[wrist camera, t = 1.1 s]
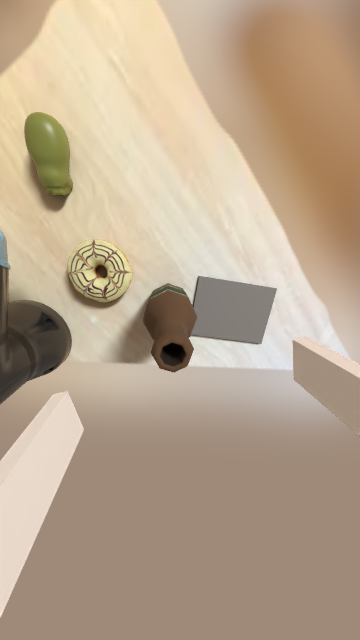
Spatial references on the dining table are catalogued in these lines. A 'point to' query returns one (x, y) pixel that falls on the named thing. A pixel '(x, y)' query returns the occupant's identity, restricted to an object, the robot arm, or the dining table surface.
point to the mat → (232, 309)
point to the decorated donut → (85, 270)
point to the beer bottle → (170, 327)
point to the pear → (49, 152)
